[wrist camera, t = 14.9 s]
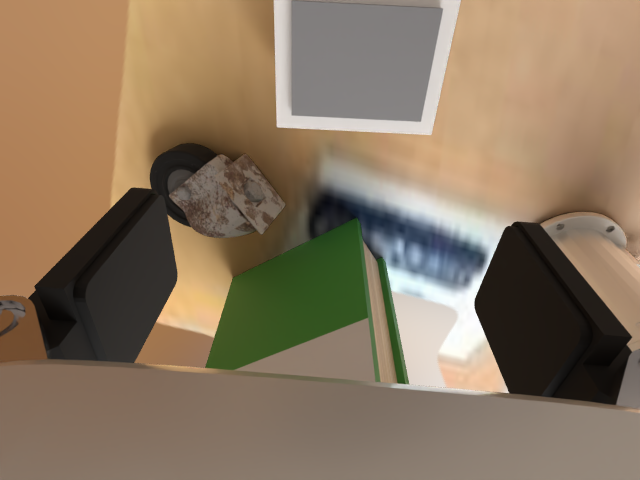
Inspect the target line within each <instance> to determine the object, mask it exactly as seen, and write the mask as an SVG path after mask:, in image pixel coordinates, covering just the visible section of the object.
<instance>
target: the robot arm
mask: <svg viewBox="0 0 640 480" xmlns="http://www.w3.org/2000/svg"><path fill="white" fill-rule="evenodd" d="M626 248H627V240H626V236H625V234H624V231H623V230H622V229H621V228H620V226H619V225H618V224H617V223H615V222H614V221H613V220H612V219H611V218H609V217H607V216H604V215H602V214H598V213H594V212H574V213H568V214H564V215H560V216H557V217H554V218H552V219H549V220H547V221H545V222H543V223H541V224H538V223H528V222H514V223H513V224H512V225H511V226H508V227H506V228H505V230H504V232H503V234H502V236H501V239H500V241H499V243H498V246H497V248H496V250H495V253H494V255H493V258H492V260H491V262H490V265H489V267H488V269H487V272H486V274H485V276H484V279H483V281H482V283H481V286H480V288H479V291H478V293H477V295H476V298H475V311H476V313H477V316H478V318H479V321H480V323H481V325H482V328H483V330H484V333H485V335H486V338H487V340H488V342H489V345H490V347H491V350H492V352H493V355H494V357H495V359H496V362H497V364H498V367H499V369H500V372H501V374H502V376H503V379H504V381H505V384H506V386H507V388H508V391H509V393H499V392H488V391H476V390H465V389H454V388H442V387H430V386H420V385H408V384H396V383H384V382H372V381H360V380H348V379H336V378H324V377H312V376H300V375H287V374H275V373H262V372H249V371H236V370H223V369H210V368H197V367H185V366H170V365H157V364H141V363H134V362H135V360H136V358H137V356H138V354H139V352H140V351H141V349H142V347H143V345H144V343H145V341H146V339H147V337H148V335H149V334H150V332H151V330H152V328H153V326H154V324H155V322H156V321H157V319H158V317H159V315H160V313H161V311H162V309H163V307H164V305H165V304H166V302H167V300H168V298H169V296H170V294H171V292H172V290H173V288H174V287H175V284H176V281H177V267H176V262H175V256H174V250H173V244H172V239H171V233H170V227H169V222H168V216H167V210H166V204H165V200H164V197H163V196H162V195H158V193H157V191H156V190H154V189H144V188H131V189H130V190H129V191H128V192H127V193H126V194H125V195H124V196H123V197H122V198H121V199H120V200H119V201H118V202H117V203H116V204H115V205H114V206H113V207H112V208H111V209H110V210H109V211H108V212H107V213H106V214H105V215H104V216H103V217H102V218H101V219H100V220H99V221H98V222H97V223H96V224H95V225H94V226H93V227H92V228H91V229H90V230H89V231H88V232H87V233H86V234H85V235H84V236H83V237H82V238H81V239H80V241H79V242H77V244H76V245H75V246H74V247H73V248H72V249H71V250H70V251H69V252H68V253H67V254H66V255H65V256H64V257H63V258H62V259H61V260H60V261H59V262H58V263H57V264H56V265H55V266H54V267H53V268H52V269H51V270H50V271H49V272H48V273H47V274H46V275H45V276H44V277H43V278H42V279H41V280H40V281H39V282H38V283H37V284H36V285H35V289H36V291H35V292H34V293H33V294H32V295H31V296H30V297H29V298H28V299H27V298H26V297H23V296H17V295H6V296H0V480H640V260H636V259H635V258H634V257H633V256H632V255H631V254H630V253H629V252H628V251H627V250H626Z"/></svg>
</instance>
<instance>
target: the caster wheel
mask: <svg viewBox="0 0 640 480" xmlns="http://www.w3.org/2000/svg"><path fill="white" fill-rule="evenodd" d="M150 183H151V188H152V189H154V190H156V191H157V193H158V195H162V196H163V197H164V200H165V204H166V210H167V214H168V215H169V216H170V217H172V218H173V219H174V220H176V221H178V222H179V223H181V224H183V225H186V226H189V227H192V228H193V229H194V230H196V231H197V232H199V233H201V234H203V235H206V236H209V237H215V238H230V237H237V236H242V235H246V234H250V233H252V232H254V231H256V230H257V231H258V232H259V233H260V234H261V235H262V234H263V233H264V232H265V231H266V229H267V228H268V227H269V226H270V224H271V223H272V222H273V221H274V219H275V218H276V217H277V216H278V214H279V213H280V212H281V211H282V209H283V208H284V207H285V203H284V201H283V200H282V199H281V198H280V196H279V195H278V194H277V192H276V191H275V190H274V189H273V187H272V186H271V185H270V183H269V182H268V181H267V179H266V178H265V177H264V176H263V174H262V173H261V172H260V170H259V169H258V168H257V167H256V165H255V164H254V163H253V161H252V160H251V159H250V158H249V156H248V155H246V154H244V155H242V156H241V157H239V158H238V159H237V160H235V161H234V162H233V161H231V160H230V159H229V158H228V157H226V156H224V155H223V154H220V155H217V154H216V153H214V152H213V151H211V150H210V149H208V148H206V147H204V146H201V145H198V144H191V143H186V144H181V145H179V146H176V147H174V148H172V149H170V150H168V151H166V152H164V153H163V154H161V155H160V156H158V157H157V158H156V160H155V161H154V163H153V165H152V168H151V172H150Z"/></svg>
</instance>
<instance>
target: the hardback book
mask: <svg viewBox="0 0 640 480" xmlns="http://www.w3.org/2000/svg"><path fill="white" fill-rule="evenodd" d="M205 368H210V369H223V370H236V371H249V372H262V373H275V374H287V375H300V376H312V377H324V378H336V379H348V380H360V381H372V382H384V383H396V384H408V385H409V381H408V376H407V370H406V366H405V360H404V355H403V350H402V345H401V340H400V334H399V330H398V324H397V319H396V314H395V309H394V304H393V299H392V293H391V288H390V283H389V278H388V273H387V268H386V262H385V261H384V259H383V258H382V257H381V258H379V259H377V260H375V258H374V257H373V255H372V253H371V252H370V250H369V249H368V247H367V246H366V244H365V243H364V241H363V239H362V231H361V223H360V222H359V220H358V219H357V218H355V219H353V220H351V221H349V222H347V223H345V224H343V225H341V226H339V227H336V228H334V229H332V230H330V231H328V232H326V233H324V234H322V235H320V236H318V237H316V238H314V239H312V240H310V241H308V242H306V243H304V244H302V245H299V246H297V247H295V248H293V249H291V250H289V251H287V252H285V253H283V254H281V255H279V256H277V257H275V258H273V259H271V260H269V261H267V262H265V263H262V264H260V265H258V266H256V267H254V268H252V269H250V270H248V271H246V272H244V273H242V274H240V275H238V276H236V277H234V278H233V279H232V283H231V286H230V289H229V292H228V296H227V299H226V302H225V305H224V309H223V312H222V315H221V318H220V322H219V325H218V328H217V331H216V334H215V338H214V341H213V344H212V347H211V351H210V354H209V357H208V360H207V364H206V367H205Z"/></svg>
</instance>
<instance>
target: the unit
mask: <svg viewBox="0 0 640 480" xmlns="http://www.w3.org/2000/svg"><path fill="white" fill-rule="evenodd" d="M460 2H461V0H274V32H275V75H276V118H277V127H279V128H299V129H320V130H340V131H361V132H381V133H402V134H422V135H432V130H433V125H434V121H435V116H436V112H437V107H438V103H439V98H440V93H441V89H442V84H443V80H444V75H445V71H446V66H447V61H448V57H449V52H450V48H451V43H452V39H453V34H454V30H455V25H456V20H457V16H458V11H459V7H460Z"/></svg>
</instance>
